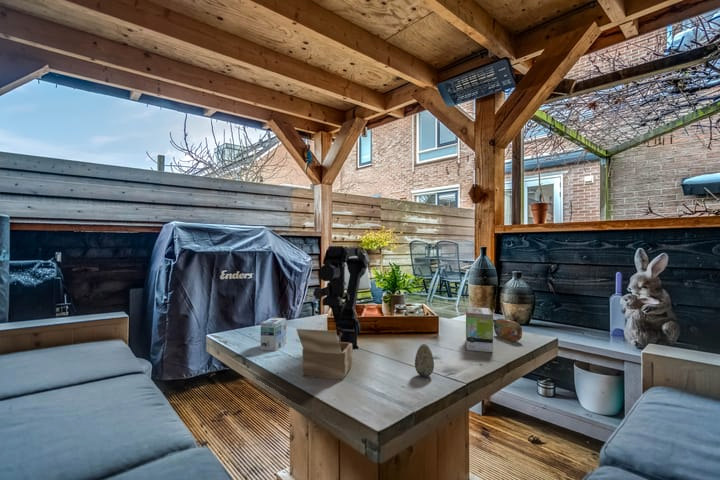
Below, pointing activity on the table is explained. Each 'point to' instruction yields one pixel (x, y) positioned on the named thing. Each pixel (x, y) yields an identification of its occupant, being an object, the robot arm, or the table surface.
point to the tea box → (479, 329)
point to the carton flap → (319, 341)
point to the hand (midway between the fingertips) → (336, 322)
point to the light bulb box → (273, 334)
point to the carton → (328, 363)
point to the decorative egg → (424, 361)
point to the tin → (508, 329)
